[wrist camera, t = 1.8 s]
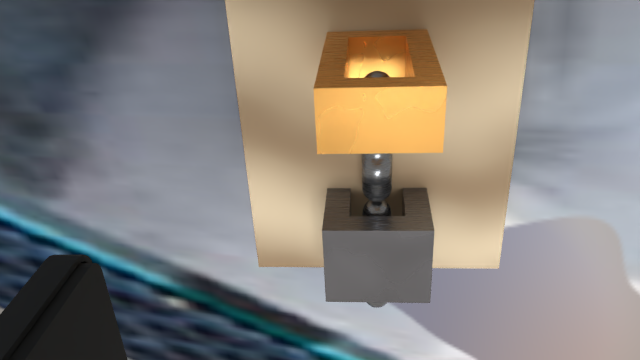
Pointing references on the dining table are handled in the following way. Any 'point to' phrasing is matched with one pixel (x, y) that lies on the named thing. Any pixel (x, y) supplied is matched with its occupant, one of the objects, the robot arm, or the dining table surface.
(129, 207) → the dining table surface
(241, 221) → the dining table surface
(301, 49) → the board
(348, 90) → the block with bead chain
